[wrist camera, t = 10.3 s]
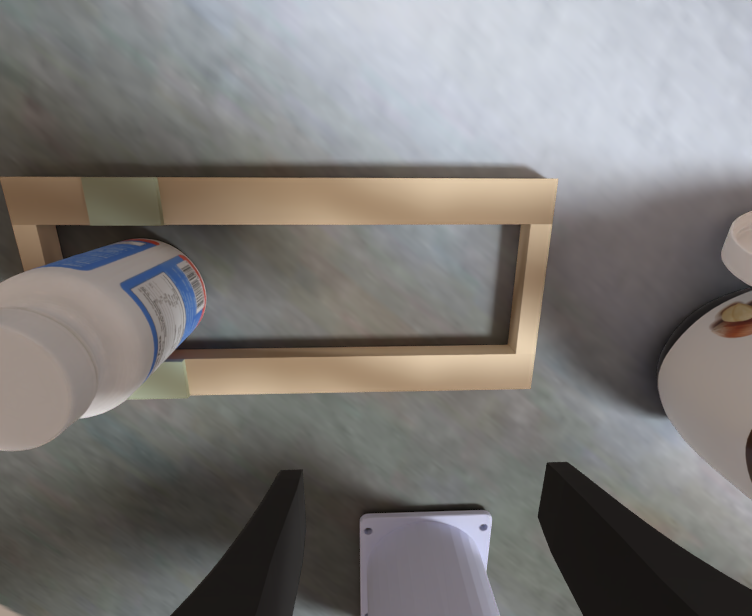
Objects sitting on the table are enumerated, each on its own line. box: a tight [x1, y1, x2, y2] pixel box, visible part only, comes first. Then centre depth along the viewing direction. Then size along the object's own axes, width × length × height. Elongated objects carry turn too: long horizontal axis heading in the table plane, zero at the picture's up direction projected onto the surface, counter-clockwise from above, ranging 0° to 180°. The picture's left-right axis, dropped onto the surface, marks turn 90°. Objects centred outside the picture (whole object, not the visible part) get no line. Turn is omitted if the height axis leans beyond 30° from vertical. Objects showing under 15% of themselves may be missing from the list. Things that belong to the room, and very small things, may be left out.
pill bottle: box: [0, 238, 207, 451], centre depth 16 cm, size 6×5×10 cm
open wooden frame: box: [0, 177, 558, 399], centre depth 20 cm, size 10×24×2 cm, turn 90°
